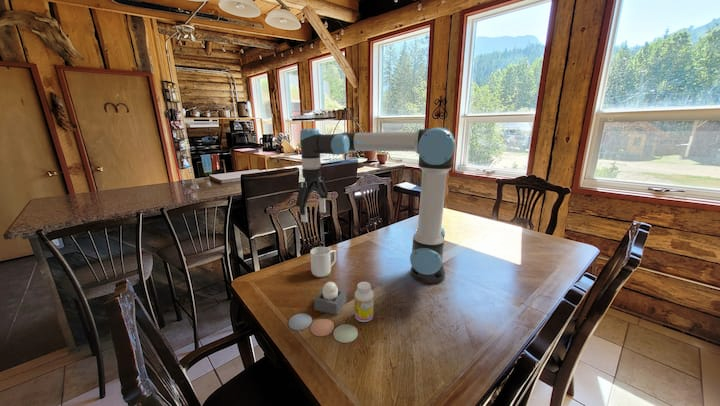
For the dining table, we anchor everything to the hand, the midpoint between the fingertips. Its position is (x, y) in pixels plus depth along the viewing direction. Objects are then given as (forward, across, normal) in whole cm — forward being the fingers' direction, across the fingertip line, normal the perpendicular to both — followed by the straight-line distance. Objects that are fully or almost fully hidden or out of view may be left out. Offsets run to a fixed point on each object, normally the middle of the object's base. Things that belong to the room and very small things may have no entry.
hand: (313, 216), depth 123 cm
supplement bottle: (+27, +18, +32) cm, 46 cm away
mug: (+27, -2, +3) cm, 28 cm away
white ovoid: (+24, +17, +18) cm, 35 cm away
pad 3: (+27, +28, +30) cm, 50 cm away
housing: (+27, +17, +18) cm, 37 cm away
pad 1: (+27, +30, +14) cm, 43 cm away
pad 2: (+27, +29, +22) cm, 45 cm away
